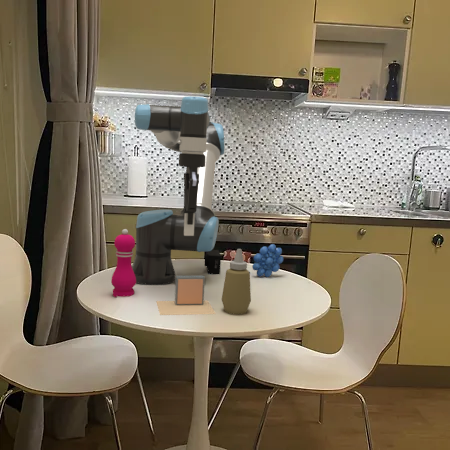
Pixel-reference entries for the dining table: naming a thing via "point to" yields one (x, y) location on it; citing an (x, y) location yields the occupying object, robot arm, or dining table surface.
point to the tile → (189, 290)
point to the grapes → (267, 260)
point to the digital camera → (213, 261)
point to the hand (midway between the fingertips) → (188, 235)
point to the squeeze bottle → (237, 286)
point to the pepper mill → (124, 266)
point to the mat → (183, 308)
